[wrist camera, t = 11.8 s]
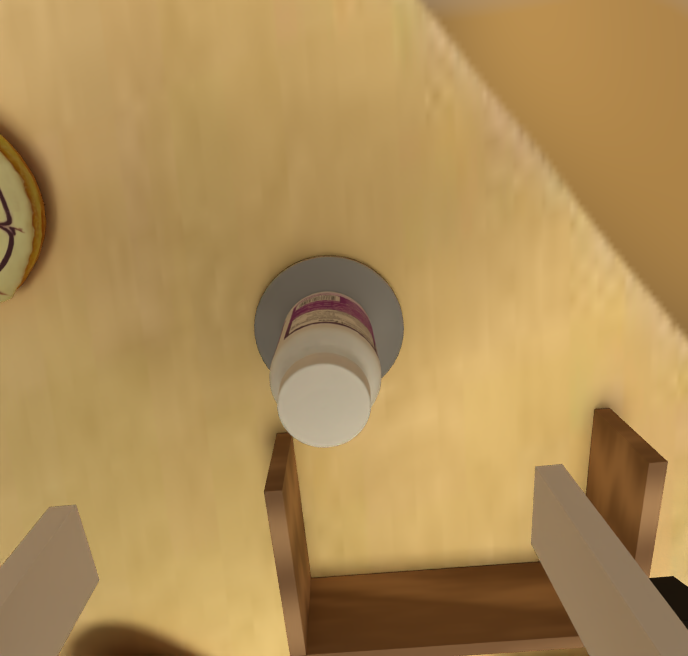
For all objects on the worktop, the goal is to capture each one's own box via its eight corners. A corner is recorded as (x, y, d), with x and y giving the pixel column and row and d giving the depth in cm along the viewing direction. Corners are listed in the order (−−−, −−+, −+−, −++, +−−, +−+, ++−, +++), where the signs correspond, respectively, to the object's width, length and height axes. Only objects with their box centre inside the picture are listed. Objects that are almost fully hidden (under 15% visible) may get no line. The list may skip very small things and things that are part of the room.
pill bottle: (346, 385, 31) (349, 481, 22) (269, 349, 30) (239, 433, 21) (388, 313, 29) (411, 383, 20) (308, 272, 28) (294, 327, 19)
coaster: (228, 344, 30) (226, 348, 30) (309, 224, 28) (309, 226, 28) (346, 418, 32) (346, 422, 32) (432, 311, 30) (433, 314, 29)
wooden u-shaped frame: (592, 568, 37) (638, 643, 31) (299, 589, 37) (292, 667, 31) (609, 408, 32) (667, 461, 27) (276, 433, 33) (263, 491, 27)
